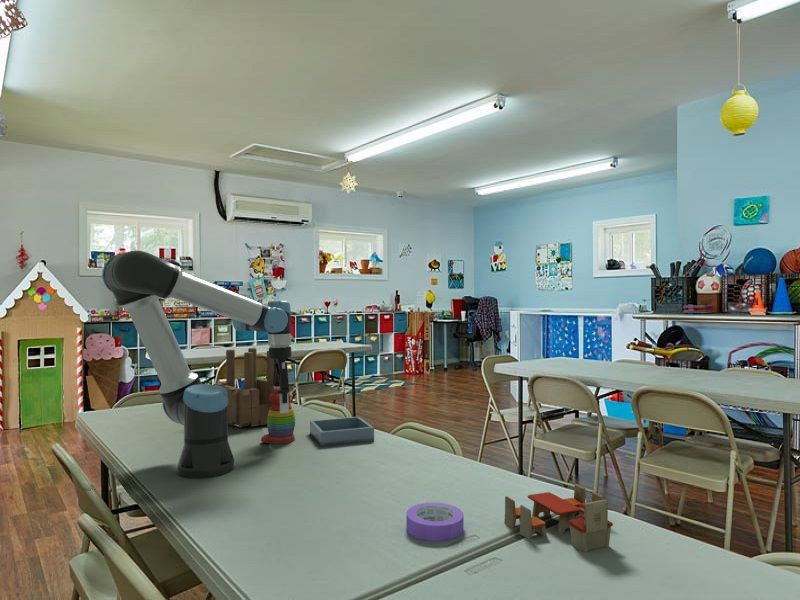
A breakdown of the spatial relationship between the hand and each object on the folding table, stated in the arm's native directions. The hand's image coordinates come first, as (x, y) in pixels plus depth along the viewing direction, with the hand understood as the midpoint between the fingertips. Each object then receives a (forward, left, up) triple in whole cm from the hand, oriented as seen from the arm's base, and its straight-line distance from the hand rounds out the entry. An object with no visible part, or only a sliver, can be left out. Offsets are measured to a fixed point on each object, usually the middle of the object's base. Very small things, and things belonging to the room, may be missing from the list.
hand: (281, 408), depth 182 cm
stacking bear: (0, 0, -11) cm, 11 cm away
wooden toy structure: (+40, +6, -11) cm, 42 cm away
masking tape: (-84, -19, -11) cm, 87 cm away
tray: (-4, -20, -11) cm, 23 cm away
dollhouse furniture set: (-95, -43, -11) cm, 105 cm away
